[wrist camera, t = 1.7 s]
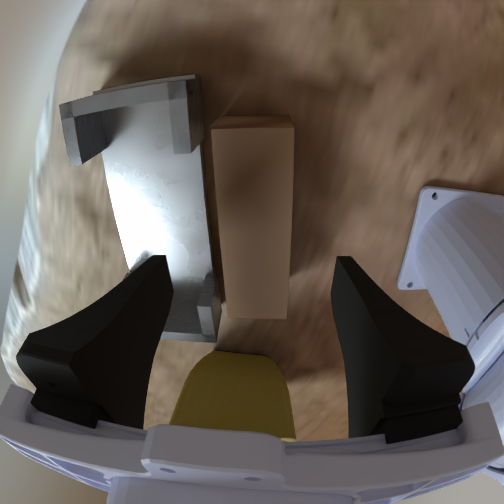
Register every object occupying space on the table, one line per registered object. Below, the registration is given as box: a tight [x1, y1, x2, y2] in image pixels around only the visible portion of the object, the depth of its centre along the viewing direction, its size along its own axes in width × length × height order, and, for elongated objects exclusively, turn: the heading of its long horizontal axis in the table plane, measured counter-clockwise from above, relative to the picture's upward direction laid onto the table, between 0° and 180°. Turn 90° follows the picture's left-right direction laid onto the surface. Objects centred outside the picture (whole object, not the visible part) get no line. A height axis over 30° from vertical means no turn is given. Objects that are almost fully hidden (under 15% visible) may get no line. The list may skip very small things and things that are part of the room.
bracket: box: [59, 74, 222, 343], centre depth 17 cm, size 7×16×4 cm, turn 1°
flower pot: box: [169, 351, 296, 442], centre depth 24 cm, size 9×9×9 cm
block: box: [211, 115, 294, 319], centre depth 17 cm, size 4×11×4 cm, turn 1°
